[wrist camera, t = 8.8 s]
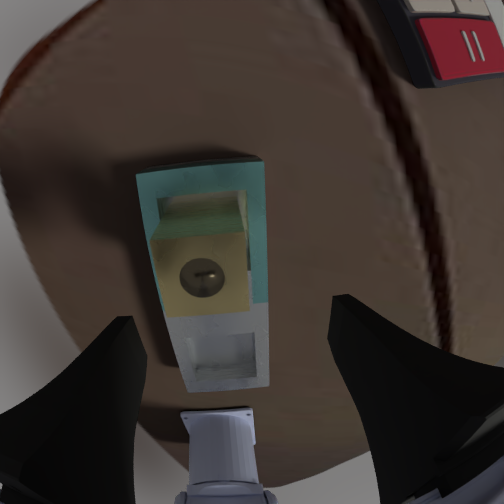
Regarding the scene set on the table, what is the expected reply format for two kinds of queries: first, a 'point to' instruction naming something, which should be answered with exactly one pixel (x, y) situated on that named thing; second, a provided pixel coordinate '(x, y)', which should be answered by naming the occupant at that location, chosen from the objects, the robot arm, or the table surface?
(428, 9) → the calculator
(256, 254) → the white teal tray block
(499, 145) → the table surface
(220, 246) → the nut
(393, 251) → the table surface
